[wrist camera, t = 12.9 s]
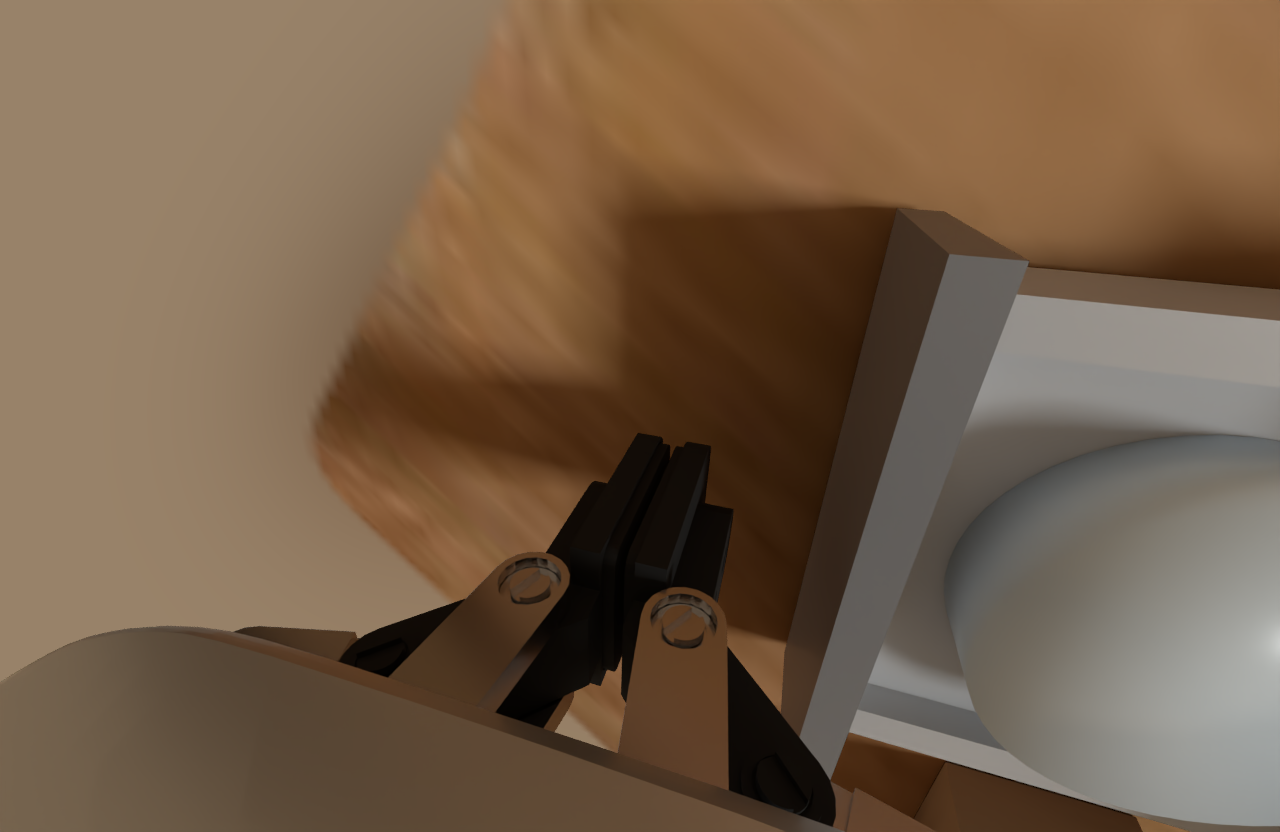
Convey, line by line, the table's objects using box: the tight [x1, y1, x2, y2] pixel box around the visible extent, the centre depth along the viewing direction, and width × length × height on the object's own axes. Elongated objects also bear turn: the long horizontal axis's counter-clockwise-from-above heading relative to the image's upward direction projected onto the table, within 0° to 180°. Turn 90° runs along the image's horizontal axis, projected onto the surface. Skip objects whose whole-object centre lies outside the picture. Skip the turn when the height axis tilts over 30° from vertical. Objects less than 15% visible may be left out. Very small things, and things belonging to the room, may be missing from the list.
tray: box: [781, 208, 1280, 832], centre depth 9 cm, size 13×12×4 cm
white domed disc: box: [944, 435, 1280, 826], centre depth 9 cm, size 7×7×2 cm
